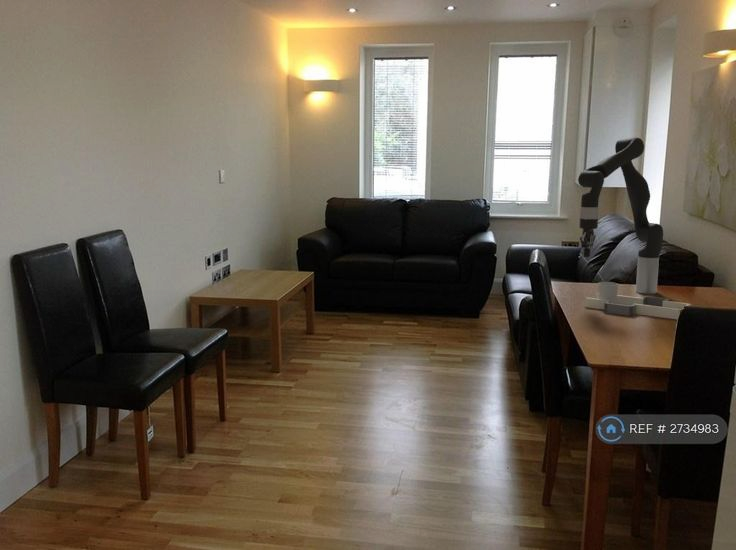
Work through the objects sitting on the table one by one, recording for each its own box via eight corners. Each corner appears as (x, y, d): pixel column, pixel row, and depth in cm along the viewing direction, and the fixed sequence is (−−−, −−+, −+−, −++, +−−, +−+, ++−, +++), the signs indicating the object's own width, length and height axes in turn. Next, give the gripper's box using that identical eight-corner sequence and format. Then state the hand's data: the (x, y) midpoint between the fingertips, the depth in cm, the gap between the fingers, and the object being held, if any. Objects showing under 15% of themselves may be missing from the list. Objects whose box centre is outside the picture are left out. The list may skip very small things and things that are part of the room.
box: (600, 299, 294) (601, 290, 294) (693, 310, 271) (693, 301, 270) (580, 309, 275) (581, 300, 275) (678, 322, 252) (679, 312, 251)
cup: (616, 304, 283) (618, 282, 281) (617, 308, 276) (618, 285, 274) (597, 303, 286) (598, 281, 284) (597, 307, 278) (598, 284, 276)
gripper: (585, 216, 288) (583, 254, 291) (574, 218, 277) (572, 258, 280) (602, 216, 283) (600, 255, 286) (592, 219, 273) (589, 259, 276)
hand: (586, 256), depth 283 cm, fingers closed
